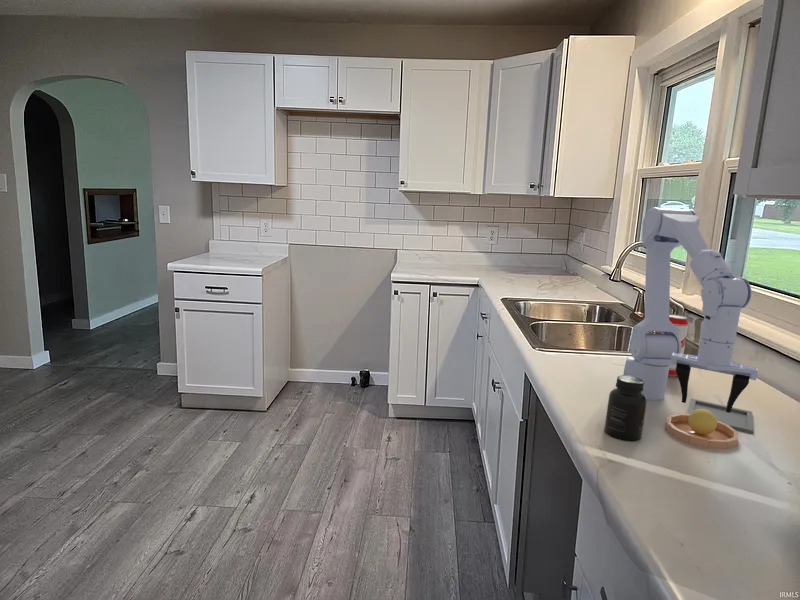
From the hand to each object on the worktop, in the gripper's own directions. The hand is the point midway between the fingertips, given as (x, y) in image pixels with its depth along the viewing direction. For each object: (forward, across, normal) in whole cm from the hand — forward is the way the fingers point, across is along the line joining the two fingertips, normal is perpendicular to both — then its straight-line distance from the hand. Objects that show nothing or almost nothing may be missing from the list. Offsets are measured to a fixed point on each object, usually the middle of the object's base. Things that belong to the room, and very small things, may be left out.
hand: (705, 406), depth 108 cm
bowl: (+7, 0, 0) cm, 7 cm away
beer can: (+7, -10, +40) cm, 42 cm away
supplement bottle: (+7, -13, -10) cm, 18 cm away
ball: (+6, 0, 0) cm, 6 cm away
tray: (+7, +3, +13) cm, 15 cm away
